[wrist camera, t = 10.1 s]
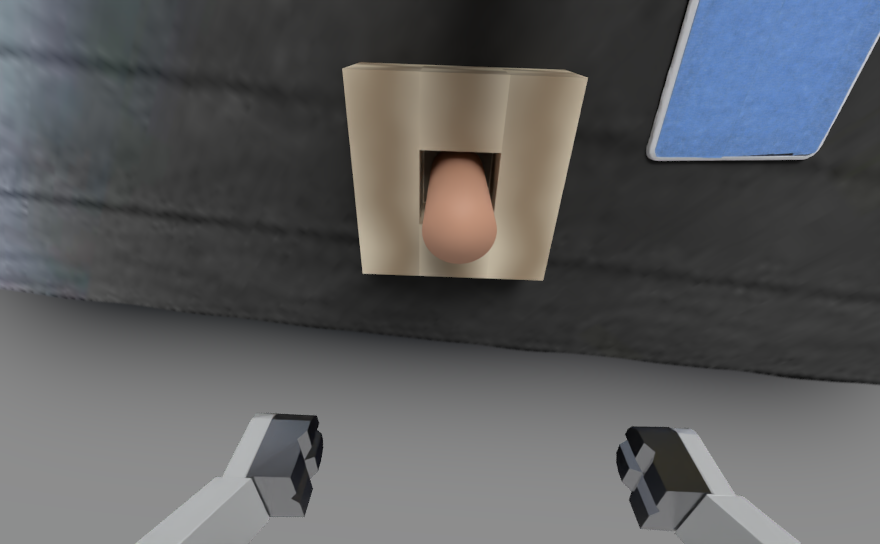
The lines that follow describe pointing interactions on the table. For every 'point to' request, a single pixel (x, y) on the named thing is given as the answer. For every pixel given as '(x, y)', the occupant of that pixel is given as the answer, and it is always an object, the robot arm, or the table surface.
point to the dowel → (458, 209)
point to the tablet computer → (760, 77)
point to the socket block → (464, 130)
